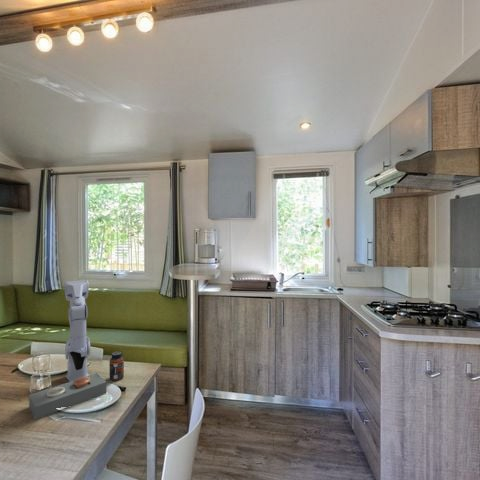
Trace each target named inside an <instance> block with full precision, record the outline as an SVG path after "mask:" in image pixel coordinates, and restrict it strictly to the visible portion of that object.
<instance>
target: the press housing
mask: <svg viewBox="0 0 480 480" xmlns="http://www.w3.org/2000/svg"><path fill="white" fill-rule="evenodd" d="M86 377H89V378H90V382H88V385H86V386H84V387H81V388H78V389H76V386H75V385H73V381H71V382H70V381H68V382H65V383H62V384H59V385H55V386H53V387H50V388H47V389H44V390H41V391H40V390H39V391H38V392H34V393H31V394H29V395H28V400H29V401H28V403H29V405H28V407H29V409H30V411H31V413H32V416H33V418H34V420H35V421H36V420H39V419H43V418H44V417H47V416H49V415H52V414H55V413H57V412H59V411H58V410H57V409H56V408H61V407H68V408H70V407H69V406H71V407H73V406H76V405H79V404H81V403H84V402H86V401H87V402H88V401H89V400H92V399H95V398H97V397H100V396H102V395H104V394H105V395H106V394H107V381H106V380H104V378H103V377H101V376H100V374H98V373H97V372H96V373H93V374H89V376H86ZM57 387H64V388H65V392H64V393H63V394H61V395H59V396H55V397H51V398H49V397H47V394H46V393H47V392H48V391H49V390H51V389H53V388H57Z"/></svg>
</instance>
